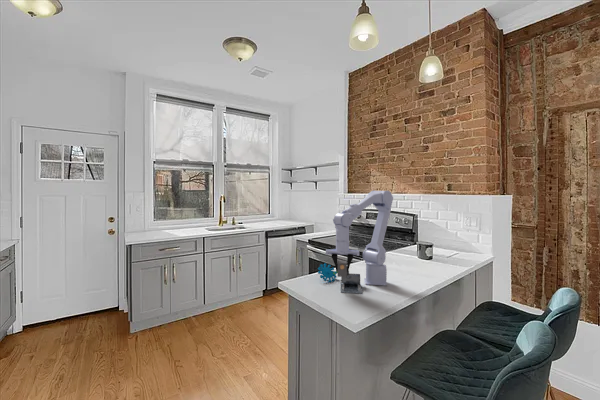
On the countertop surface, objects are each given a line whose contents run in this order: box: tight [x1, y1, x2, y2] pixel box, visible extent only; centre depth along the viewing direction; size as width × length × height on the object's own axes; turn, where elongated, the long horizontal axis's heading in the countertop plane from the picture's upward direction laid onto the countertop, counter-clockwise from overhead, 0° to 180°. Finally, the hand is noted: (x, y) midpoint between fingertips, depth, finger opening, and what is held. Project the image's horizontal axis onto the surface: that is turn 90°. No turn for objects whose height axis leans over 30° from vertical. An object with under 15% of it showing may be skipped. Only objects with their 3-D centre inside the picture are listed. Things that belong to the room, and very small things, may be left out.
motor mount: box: [340, 271, 363, 295], centre depth 128 cm, size 9×12×7 cm
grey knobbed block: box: [337, 260, 347, 278], centre depth 125 cm, size 4×5×6 cm
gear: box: [317, 263, 338, 283], centre depth 141 cm, size 11×6×10 cm
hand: (342, 271), depth 126 cm, fingers closed on grey knobbed block, 4 cm apart
